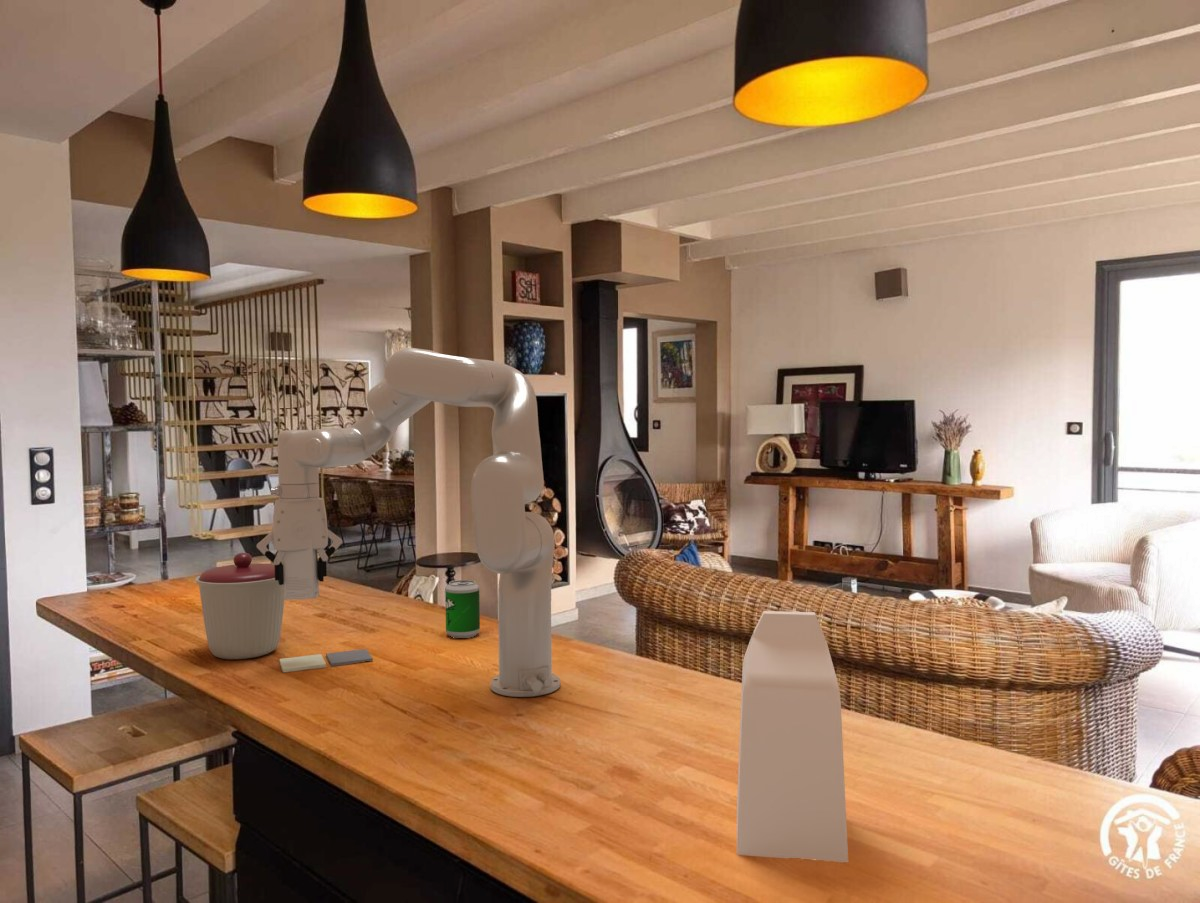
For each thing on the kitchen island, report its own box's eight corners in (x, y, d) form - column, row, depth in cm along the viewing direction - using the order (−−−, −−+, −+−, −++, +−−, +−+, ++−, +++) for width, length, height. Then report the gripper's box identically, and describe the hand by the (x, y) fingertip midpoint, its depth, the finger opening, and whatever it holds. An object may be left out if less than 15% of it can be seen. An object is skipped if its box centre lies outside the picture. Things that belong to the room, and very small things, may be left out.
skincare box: (319, 595, 173) (318, 535, 172) (314, 599, 168) (313, 538, 168) (288, 595, 172) (287, 535, 172) (282, 600, 168) (280, 538, 167)
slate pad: (372, 661, 172) (372, 658, 172) (331, 666, 169) (331, 663, 169) (365, 651, 180) (365, 648, 180) (326, 656, 176) (326, 653, 176)
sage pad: (326, 667, 169) (326, 664, 169) (282, 672, 165) (282, 669, 165) (321, 656, 176) (321, 654, 176) (279, 661, 173) (279, 658, 172)
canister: (211, 671, 166) (208, 563, 166) (186, 652, 180) (184, 552, 179) (303, 654, 178) (301, 553, 177) (274, 637, 192) (271, 543, 191)
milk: (736, 854, 96) (736, 623, 94) (736, 808, 107) (736, 600, 106) (848, 862, 94) (849, 626, 93) (836, 814, 105) (837, 603, 104)
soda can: (483, 631, 196) (482, 579, 195) (475, 640, 188) (474, 586, 188) (451, 631, 197) (450, 579, 196) (441, 639, 189) (441, 585, 189)
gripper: (252, 496, 162) (254, 589, 163) (347, 492, 169) (349, 581, 170) (250, 492, 169) (252, 582, 170) (341, 489, 176) (343, 575, 177)
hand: (301, 581), depth 170 cm, fingers closed on skincare box, 6 cm apart
